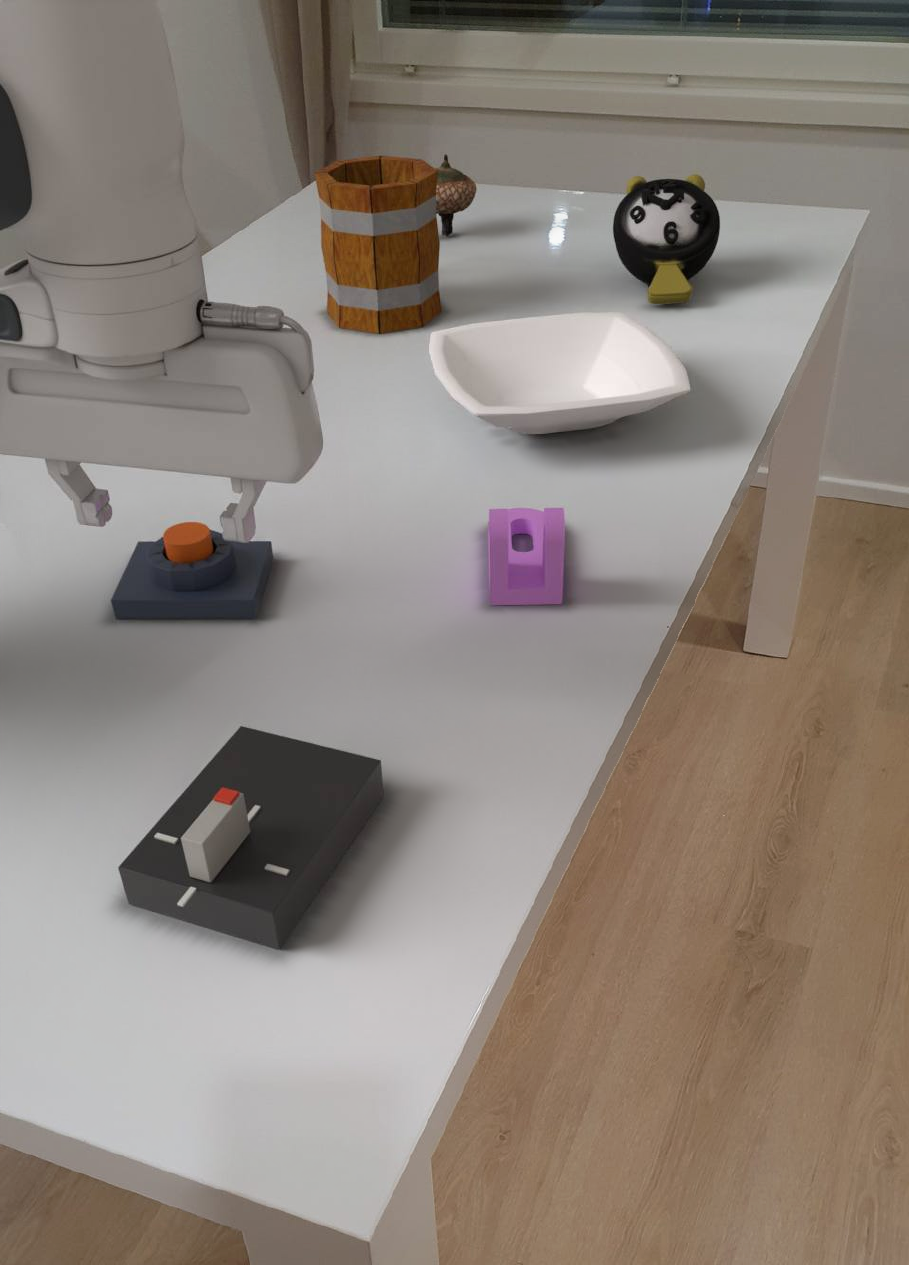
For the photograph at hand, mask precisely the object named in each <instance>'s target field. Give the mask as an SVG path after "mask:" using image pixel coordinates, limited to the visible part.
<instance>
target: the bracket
mask: <svg viewBox="0 0 909 1265" xmlns="http://www.w3.org/2000/svg"><path fill="white" fill-rule="evenodd" d="M565 521H566V520H565V509H564V507H544V509H543V510H540V509H537V508H533V507H513V508H489V509H488V523H487V545H488V549H487V550H488V578H489V580H488V582H489V583H488V584H489V606H531V605H532V606H533V605H535V606H537V605H539V606H540V605H563V596H564V594H563V592H564V573H565V572H564V571H565V568H564V567H565V545H566V544H565V543H566V522H565ZM518 534H523V535H528V536H530V537H531V539H532V546H533V547H532V548H533V549H531V550H529V551H517V550H516V549H514V548H513V544H512V543H513V542H512V537H513V536H515V535H518Z"/></svg>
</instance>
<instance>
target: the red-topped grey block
mask: <svg viewBox="0 0 909 1265" xmlns="http://www.w3.org/2000/svg"><path fill="white" fill-rule="evenodd" d="M249 833H250V827H249V821H248V816H247V811H246V805H245V800H244V794H243V793H239V792H238V791H235V790H231V789H227V788H223V787H222V788H221V789H220V791H219V792H218V793H217V794H216V795H215V797H214V798H213V800H212V801H211V802H210V804H209V805H208V806H207V807H206V808H205V810H204V811H203V812H202V813H201V814H200V816H199V817H198V818H197V819H196V820H195V822H194V823H193V824H192V825H191V826H190V828H189V829H188V830H187V831H186V832H185V834H184V835H183V836H182V837H181V841H182V845H183V849H184V854H185V858H186V862H187V866H188V870H189V875H190V877H193V878H196V879H200V880H203V881H207V882H210V883H211V882H212V881H213V880H214V878H215V877H216V876H217V874H218V873H219V872H220V871H221V869H222V868H223V867H224V865H225V864H226V863H227V862H228V860H229V859H230V858H231V856H232V855H233V854H234V853H235V851H236V850H237V849H238V847H239V846H240V845H241V843H242V842H243V841H244V840H245V838H246V837H247V836H248V834H249Z"/></svg>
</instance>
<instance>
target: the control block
mask: <svg viewBox="0 0 909 1265" xmlns="http://www.w3.org/2000/svg"><path fill="white" fill-rule="evenodd" d="M210 533H211V539H212V545H213V553H212V555H211V556H209V557H208V558H206V559H204V560H201V561H197V562H193V563H176V562H173V561H170V560H169V559H168V557H167V554H166V549H165V544H164V539H163V536H162V537H160V538H159V539H157V540H154V541H151V540H149V541H148V540H147V541H145V540H144V541H137V543H136V546H135V547H134V550H133V551H132V553H131V556H130V558H129V560H128V563H127V565H126V566H125V569H124V571H123V573H122V575H121V577H120V580H119V582H118V584H117V586H116V588H115V590H114V592H113V595H112V597H111V599H110V603H111V606H112V611H113V614H114V619H117V620H120V619H121V620H125V619H126V620H127V619H129V620H131V619H132V620H136V619H137V620H138V619H141V620H143V619H145V620H146V619H147V620H154V619H155V620H163V619H165V620H172V619H173V620H176V619H177V620H179V619H181V620H187V619H188V620H193V619H195V620H197V619H199V620H201V619H202V620H211V619H212V620H219V619H220V620H228V619H229V620H234V619H235V620H247V619H249V620H255V619H257V617H258V613H259V610H260V606H261V603H262V600H263V598H264V597H263V596H264V593H265V590H266V586H267V583H268V579H269V576H270V573H271V569H272V566H273V563H274V562H273V561H274V551H273V545H272V541H271V540H250V541H249V543H243V542H234V541H225V540H224V539H223V536H222V533H223V532H219V531H216V530H213V529H210Z"/></svg>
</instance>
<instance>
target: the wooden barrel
mask: <svg viewBox="0 0 909 1265" xmlns="http://www.w3.org/2000/svg"><path fill="white" fill-rule="evenodd" d="M435 168H436V167H435ZM435 168H434V167H433V166H432V165H431V164H429V163H428V162H427V161H426V160H424V159H421V158H411V157H399V156H390V155H388V156H387V155H375V156H367V157H366V156H365V157H357V158H350V159H341V160H336V161H333V162H332V163H330V164H329V165H327V166H325V167H322V168H320V169H319V170H317V171H314V173H313V174H314V179H315V184H316V189H317V193H318V200H319V201H318V202H319V211H320V212H319V213H320V233H321V234H320V235H321V236H320V245H321V252H322V257H323V263H324V270H325V277H326V288H327V299H326V300H327V302H326V304H327V305H326V311H327V312H326V314H327V315H328V316H329V318H330V319H331V320H332V321H333V322H334V323H335V325H336V326H337V327H338V328H339V329H344V330H351V331H358V332H363V333H365V332H366V333H371V334H378V335H382V334H388V333H394V332H400V331H401V332H402V331H407V330H414V329H419V328H423V327H425V326H426V325H428V324H429V323H430V322H431V321H433V320H434V319H435V318H436V317H438V316H439V315H441V313H443V307H442V302H441V294H440V279H439V265H440V249H441V248H440V247H441V245H440V244H441V242H440V235H439V227H438V218H437V214H436V187H437V174H438V171H437V170H436V169H435Z"/></svg>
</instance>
